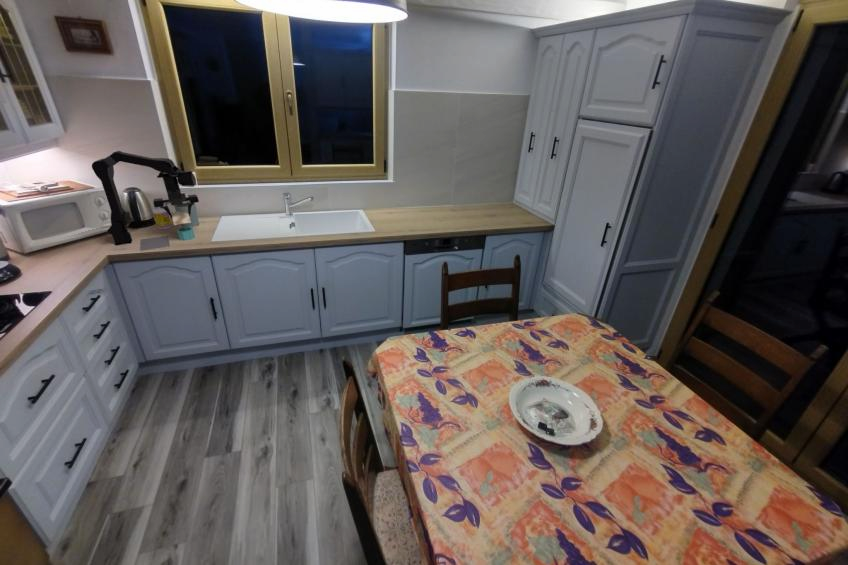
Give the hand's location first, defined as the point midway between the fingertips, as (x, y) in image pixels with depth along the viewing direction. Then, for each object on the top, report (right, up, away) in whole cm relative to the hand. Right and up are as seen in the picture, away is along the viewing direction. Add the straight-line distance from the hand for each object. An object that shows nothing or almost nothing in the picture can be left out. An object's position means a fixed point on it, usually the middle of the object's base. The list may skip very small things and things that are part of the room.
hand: (181, 217), depth 192 cm
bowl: (0, -10, +5) cm, 11 cm away
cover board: (0, -1, 0) cm, 1 cm away
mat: (-12, -13, -2) cm, 18 cm away
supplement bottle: (-21, -3, +19) cm, 28 cm away
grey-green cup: (-10, -1, +23) cm, 25 cm away
